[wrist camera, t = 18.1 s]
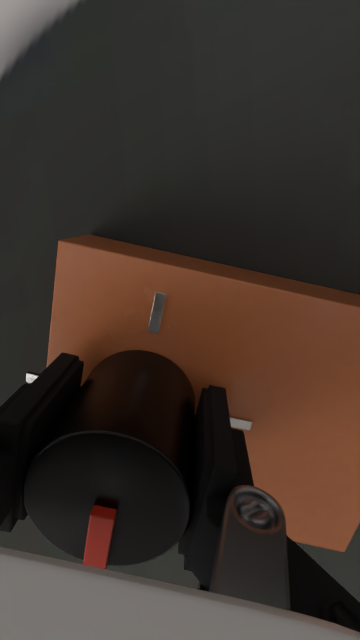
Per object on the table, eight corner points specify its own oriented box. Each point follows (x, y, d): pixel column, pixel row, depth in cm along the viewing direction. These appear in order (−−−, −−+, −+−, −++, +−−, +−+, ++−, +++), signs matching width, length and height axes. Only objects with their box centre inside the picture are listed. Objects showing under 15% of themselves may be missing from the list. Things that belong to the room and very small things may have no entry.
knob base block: (404, 304, 13) (463, 331, 10) (320, 494, 17) (346, 557, 14) (73, 230, 13) (36, 235, 10) (51, 435, 16) (17, 485, 13)
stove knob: (91, 338, 11) (18, 422, 7) (206, 362, 11) (209, 463, 7) (79, 435, 13) (10, 561, 8) (182, 456, 13) (172, 594, 8)
